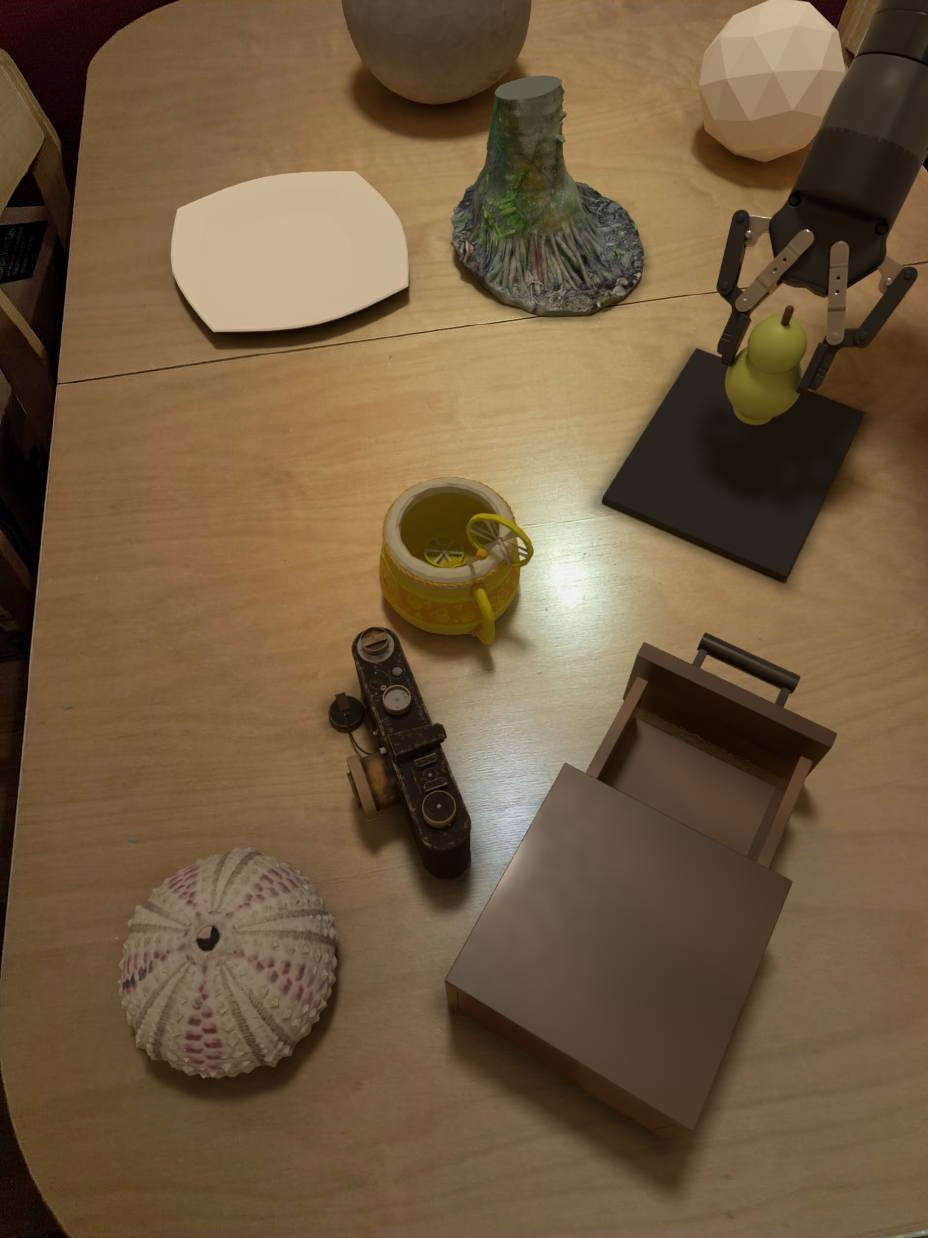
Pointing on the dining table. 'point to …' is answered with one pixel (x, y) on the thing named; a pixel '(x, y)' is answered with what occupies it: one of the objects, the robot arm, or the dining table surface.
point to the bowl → (438, 44)
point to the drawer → (727, 719)
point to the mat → (734, 469)
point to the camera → (404, 755)
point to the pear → (767, 369)
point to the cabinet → (619, 951)
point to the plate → (288, 252)
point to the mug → (451, 557)
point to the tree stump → (542, 215)
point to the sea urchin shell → (228, 964)
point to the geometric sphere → (770, 79)
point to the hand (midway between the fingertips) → (763, 378)
